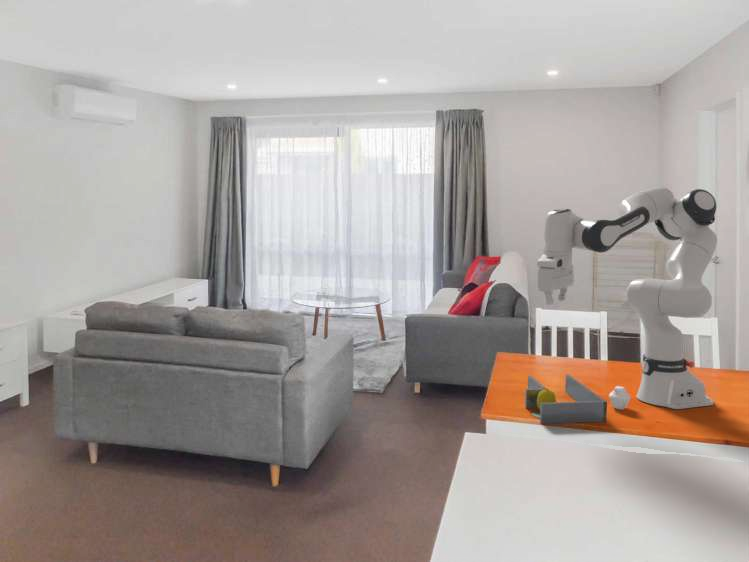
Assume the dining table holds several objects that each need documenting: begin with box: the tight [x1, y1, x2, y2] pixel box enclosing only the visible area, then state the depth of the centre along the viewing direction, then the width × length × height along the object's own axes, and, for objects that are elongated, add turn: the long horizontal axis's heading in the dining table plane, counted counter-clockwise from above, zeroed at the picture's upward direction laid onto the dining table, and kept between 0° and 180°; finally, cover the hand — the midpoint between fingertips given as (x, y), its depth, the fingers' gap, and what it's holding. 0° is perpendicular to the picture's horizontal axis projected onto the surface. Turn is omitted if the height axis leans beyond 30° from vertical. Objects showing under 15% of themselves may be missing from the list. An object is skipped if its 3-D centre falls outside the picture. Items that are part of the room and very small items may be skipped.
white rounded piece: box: [608, 385, 631, 410], centre depth 189 cm, size 6×6×7 cm
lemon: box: [537, 387, 557, 410], centre depth 182 cm, size 6×6×8 cm
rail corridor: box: [524, 374, 608, 425], centre depth 190 cm, size 20×28×6 cm
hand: (555, 302), depth 197 cm, fingers open, 8 cm apart
